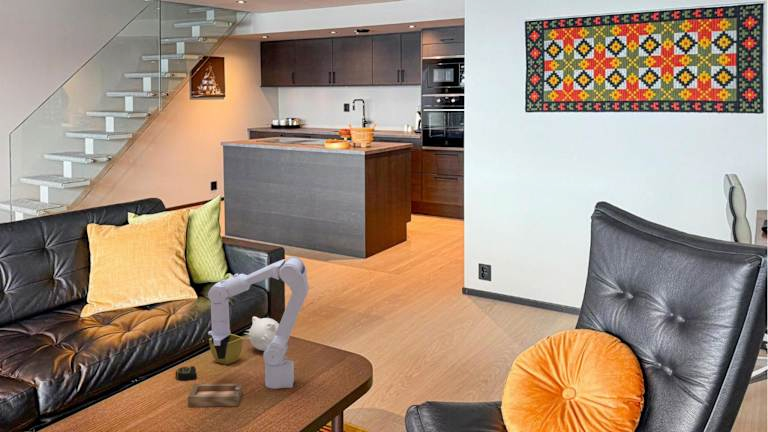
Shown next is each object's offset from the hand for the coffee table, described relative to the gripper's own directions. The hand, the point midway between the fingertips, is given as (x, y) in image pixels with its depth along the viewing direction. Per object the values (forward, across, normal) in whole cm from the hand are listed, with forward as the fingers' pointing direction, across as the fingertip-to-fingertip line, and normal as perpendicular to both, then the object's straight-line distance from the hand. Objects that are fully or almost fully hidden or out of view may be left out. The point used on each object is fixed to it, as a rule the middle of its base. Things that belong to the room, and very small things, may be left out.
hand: (221, 358), depth 223 cm
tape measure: (+10, -5, -12) cm, 16 cm away
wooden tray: (+8, +13, 0) cm, 15 cm away
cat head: (+10, -30, +11) cm, 33 cm away
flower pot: (+10, -19, -2) cm, 21 cm away
